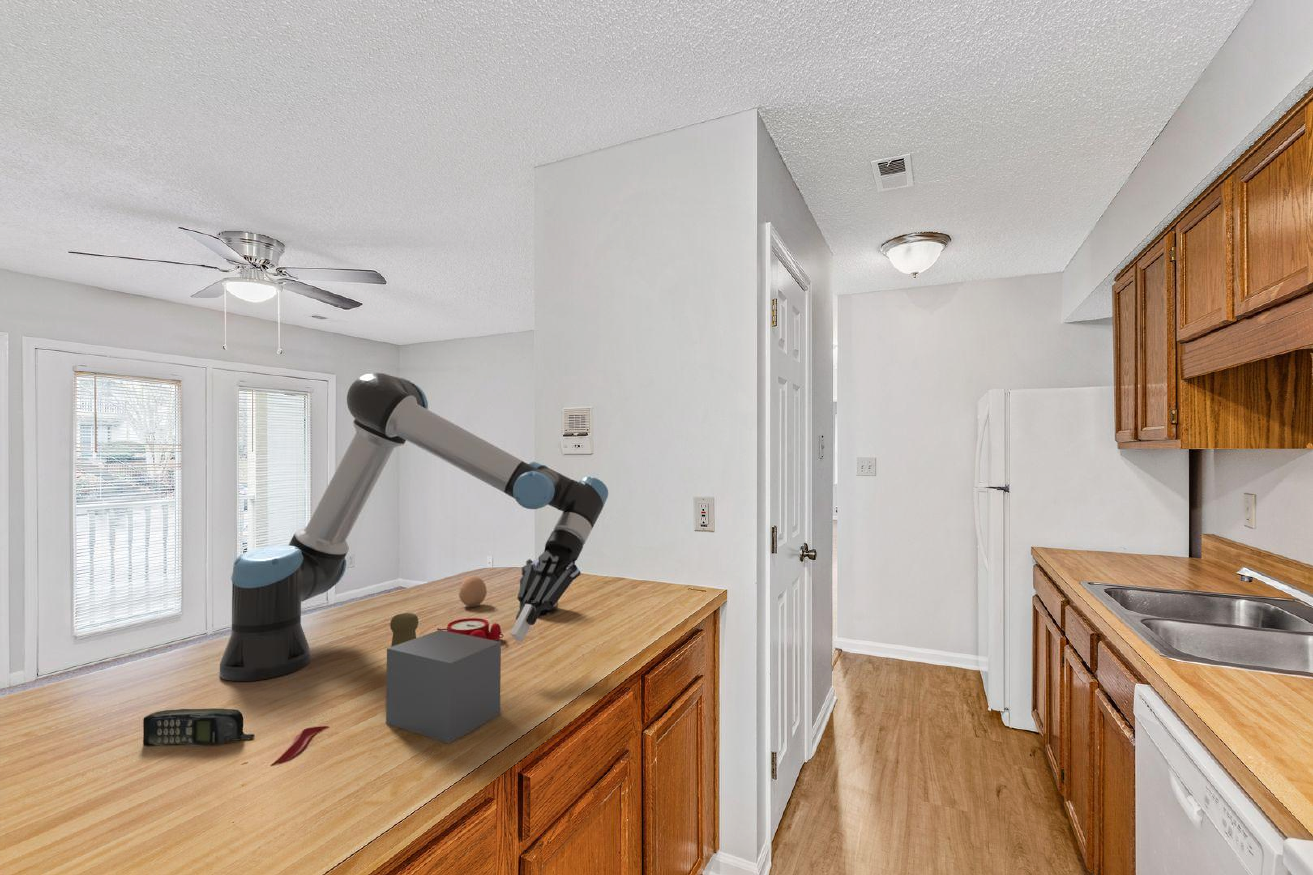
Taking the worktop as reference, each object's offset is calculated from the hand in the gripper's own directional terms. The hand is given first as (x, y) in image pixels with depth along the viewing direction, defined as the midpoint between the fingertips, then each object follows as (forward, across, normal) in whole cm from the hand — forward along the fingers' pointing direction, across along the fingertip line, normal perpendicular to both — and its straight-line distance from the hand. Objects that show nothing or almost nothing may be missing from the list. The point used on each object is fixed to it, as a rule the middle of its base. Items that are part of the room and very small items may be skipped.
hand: (516, 637), depth 112 cm
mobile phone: (+35, +27, +22) cm, 49 cm away
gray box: (+18, 0, +6) cm, 19 cm away
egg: (-19, +46, -31) cm, 59 cm away
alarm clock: (-3, +24, -16) cm, 28 cm away
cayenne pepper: (+30, +12, +18) cm, 37 cm away
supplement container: (-23, +27, -35) cm, 49 cm away
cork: (+10, +24, -2) cm, 26 cm away
